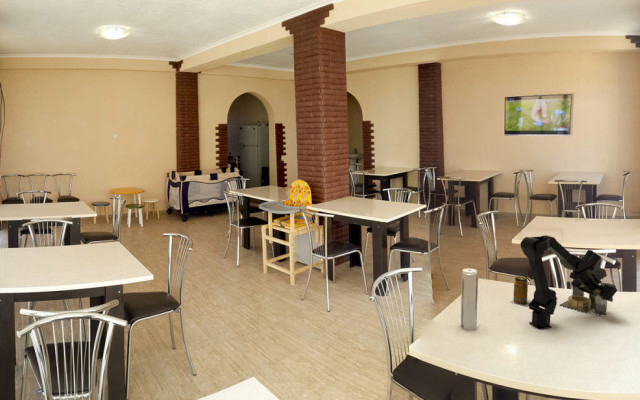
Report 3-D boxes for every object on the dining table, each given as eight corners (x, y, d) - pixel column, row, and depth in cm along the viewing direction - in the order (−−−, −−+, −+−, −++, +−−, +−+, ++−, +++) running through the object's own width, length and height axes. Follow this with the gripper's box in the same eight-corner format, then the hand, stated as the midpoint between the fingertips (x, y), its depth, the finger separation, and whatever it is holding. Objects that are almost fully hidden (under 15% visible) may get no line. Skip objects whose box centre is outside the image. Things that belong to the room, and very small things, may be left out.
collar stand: (586, 313, 208) (587, 292, 207) (559, 305, 218) (560, 285, 217) (601, 305, 217) (602, 285, 216) (575, 298, 227) (576, 279, 225)
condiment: (517, 298, 229) (518, 274, 227) (534, 303, 222) (535, 278, 221) (509, 302, 224) (510, 278, 223) (526, 306, 218) (527, 282, 216)
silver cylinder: (477, 330, 194) (479, 272, 190) (461, 329, 195) (462, 272, 191) (475, 324, 200) (477, 267, 196) (460, 323, 201) (461, 267, 198)
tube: (600, 316, 205) (601, 291, 203) (591, 312, 210) (593, 287, 208) (608, 314, 206) (610, 289, 204) (600, 311, 211) (601, 286, 209)
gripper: (615, 268, 194) (632, 290, 199) (577, 257, 212) (594, 277, 217) (600, 289, 193) (618, 310, 198) (563, 276, 210) (580, 296, 215)
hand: (602, 297), depth 207 cm, fingers open, 9 cm apart
